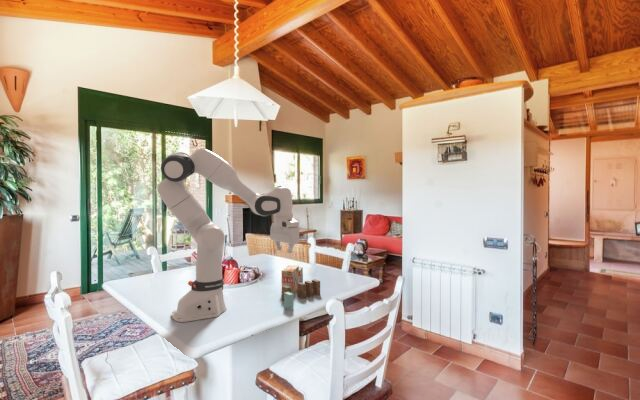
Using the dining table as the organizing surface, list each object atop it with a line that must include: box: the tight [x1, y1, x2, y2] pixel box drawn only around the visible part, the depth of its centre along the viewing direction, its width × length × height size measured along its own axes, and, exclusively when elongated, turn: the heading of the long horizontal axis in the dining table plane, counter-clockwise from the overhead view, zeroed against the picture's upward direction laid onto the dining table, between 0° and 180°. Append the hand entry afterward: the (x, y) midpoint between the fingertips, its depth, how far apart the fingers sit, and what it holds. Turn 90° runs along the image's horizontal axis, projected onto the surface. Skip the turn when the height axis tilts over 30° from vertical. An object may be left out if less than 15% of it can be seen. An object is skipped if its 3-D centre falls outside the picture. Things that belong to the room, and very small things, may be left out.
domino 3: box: [304, 280, 314, 298], centre depth 166 cm, size 2×4×7 cm, turn 37°
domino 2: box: [296, 282, 307, 300], centre depth 164 cm, size 2×4×7 cm, turn 37°
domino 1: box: [281, 285, 291, 302], centre depth 158 cm, size 2×4×7 cm, turn 37°
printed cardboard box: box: [281, 264, 304, 295], centre depth 180 cm, size 21×6×12 cm, turn 169°
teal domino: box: [283, 292, 294, 311], centre depth 148 cm, size 2×4×7 cm, turn 37°
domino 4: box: [311, 279, 321, 296], centre depth 169 cm, size 2×4×7 cm, turn 37°
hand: (284, 251), depth 152 cm, fingers open, 8 cm apart
